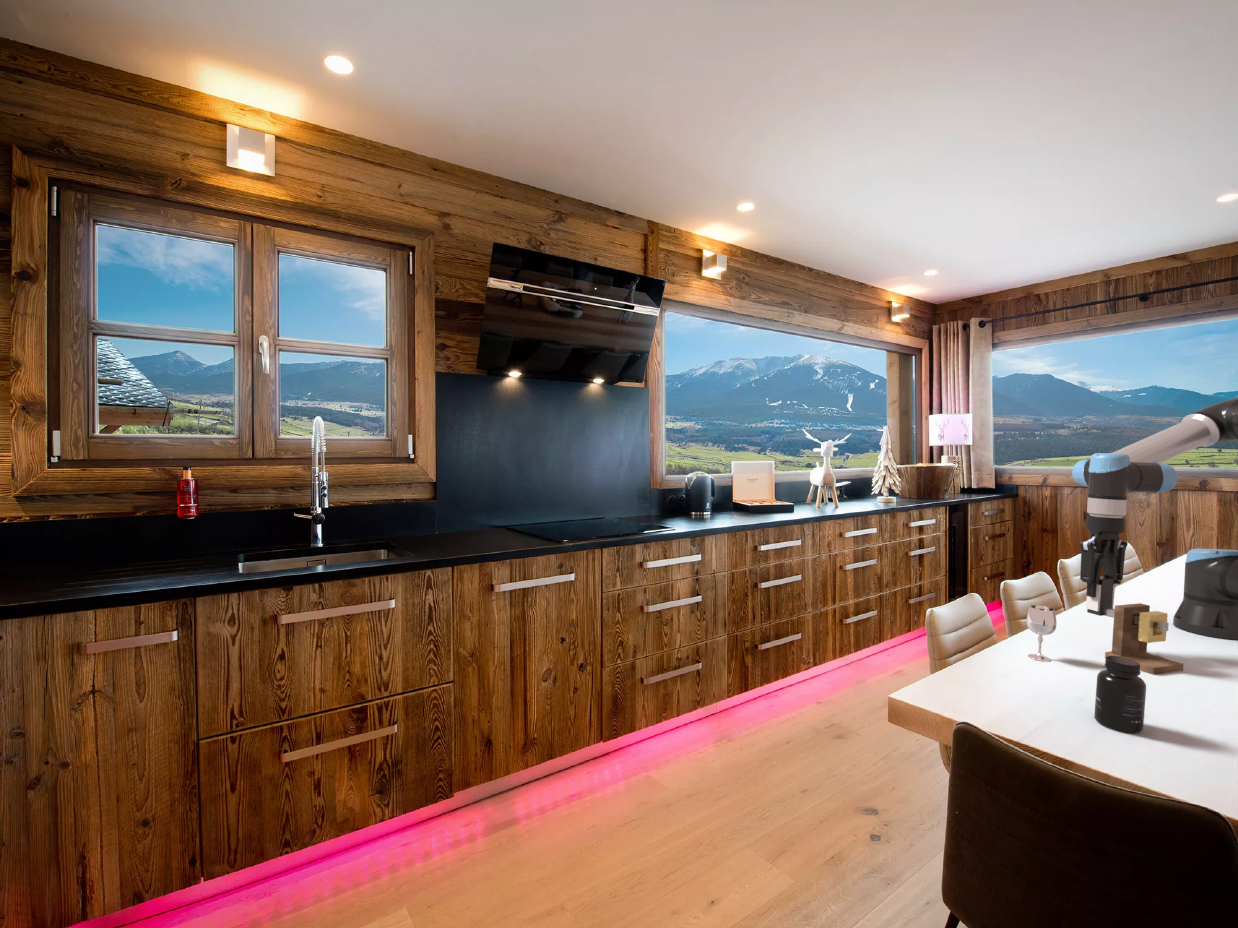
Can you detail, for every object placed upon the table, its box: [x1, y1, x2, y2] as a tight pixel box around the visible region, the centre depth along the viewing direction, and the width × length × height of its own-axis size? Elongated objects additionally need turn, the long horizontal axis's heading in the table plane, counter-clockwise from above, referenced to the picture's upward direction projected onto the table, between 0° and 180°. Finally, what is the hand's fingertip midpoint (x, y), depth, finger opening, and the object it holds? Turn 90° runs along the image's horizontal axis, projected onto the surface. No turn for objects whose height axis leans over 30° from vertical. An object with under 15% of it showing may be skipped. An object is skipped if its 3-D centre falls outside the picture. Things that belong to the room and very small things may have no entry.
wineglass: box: [1026, 604, 1058, 662], centre depth 141 cm, size 6×6×12 cm
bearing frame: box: [1104, 603, 1184, 676], centre depth 139 cm, size 10×10×13 cm
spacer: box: [1138, 610, 1169, 644], centre depth 137 cm, size 2×6×6 cm, turn 108°
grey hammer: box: [1086, 575, 1169, 632], centre depth 142 cm, size 16×4×9 cm, turn 18°
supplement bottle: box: [1093, 656, 1147, 734], centre depth 107 cm, size 7×7×12 cm
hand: (1099, 608), depth 148 cm, fingers closed on grey hammer, 4 cm apart
